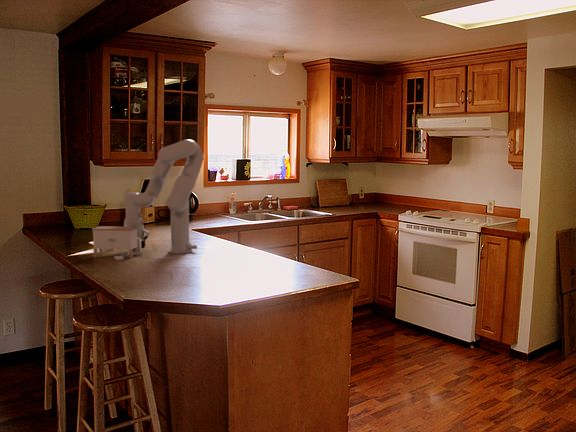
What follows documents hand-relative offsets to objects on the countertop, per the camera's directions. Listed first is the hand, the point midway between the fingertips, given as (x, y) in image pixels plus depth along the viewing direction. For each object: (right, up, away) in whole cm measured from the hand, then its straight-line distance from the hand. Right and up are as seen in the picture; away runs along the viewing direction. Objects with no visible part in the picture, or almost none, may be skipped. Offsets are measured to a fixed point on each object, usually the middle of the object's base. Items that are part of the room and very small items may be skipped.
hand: (134, 247), depth 305 cm
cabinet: (-6, -4, -11) cm, 13 cm away
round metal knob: (-2, -5, -20) cm, 20 cm away
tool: (-1, -3, -6) cm, 7 cm away
